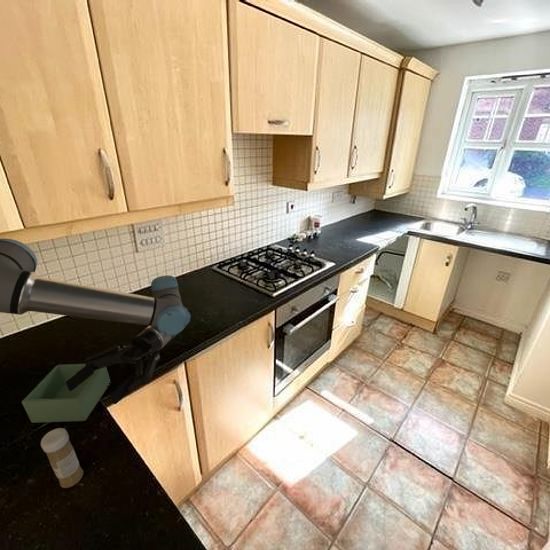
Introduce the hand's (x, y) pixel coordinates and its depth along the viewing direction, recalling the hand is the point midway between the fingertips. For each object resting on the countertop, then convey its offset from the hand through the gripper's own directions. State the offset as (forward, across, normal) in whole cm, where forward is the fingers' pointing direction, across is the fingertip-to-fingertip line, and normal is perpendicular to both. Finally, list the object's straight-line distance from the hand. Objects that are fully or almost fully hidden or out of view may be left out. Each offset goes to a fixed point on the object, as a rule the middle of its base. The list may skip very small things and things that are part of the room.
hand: (89, 393), depth 70 cm
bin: (-7, +20, -16) cm, 27 cm away
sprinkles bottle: (+10, 0, -16) cm, 19 cm away
